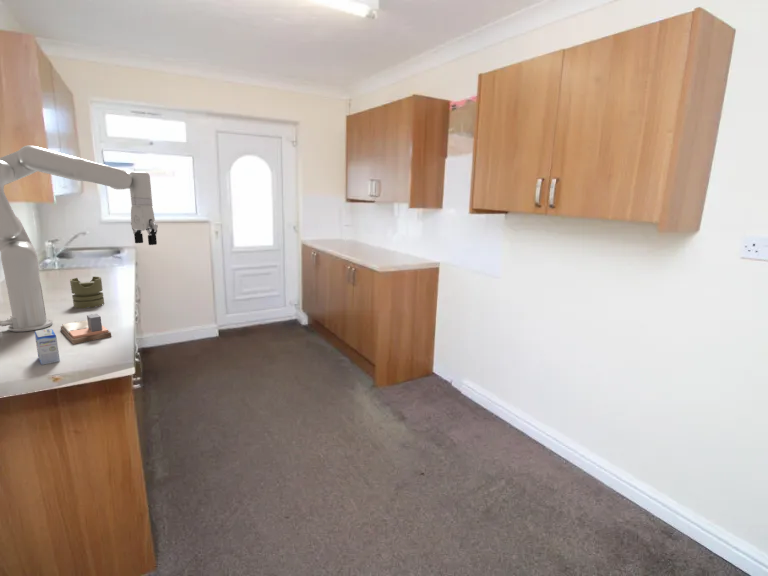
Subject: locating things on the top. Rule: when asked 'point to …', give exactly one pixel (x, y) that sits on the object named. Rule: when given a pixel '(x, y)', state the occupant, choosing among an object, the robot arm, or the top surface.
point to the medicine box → (47, 346)
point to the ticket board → (78, 326)
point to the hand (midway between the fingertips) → (145, 243)
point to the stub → (90, 327)
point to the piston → (87, 293)
